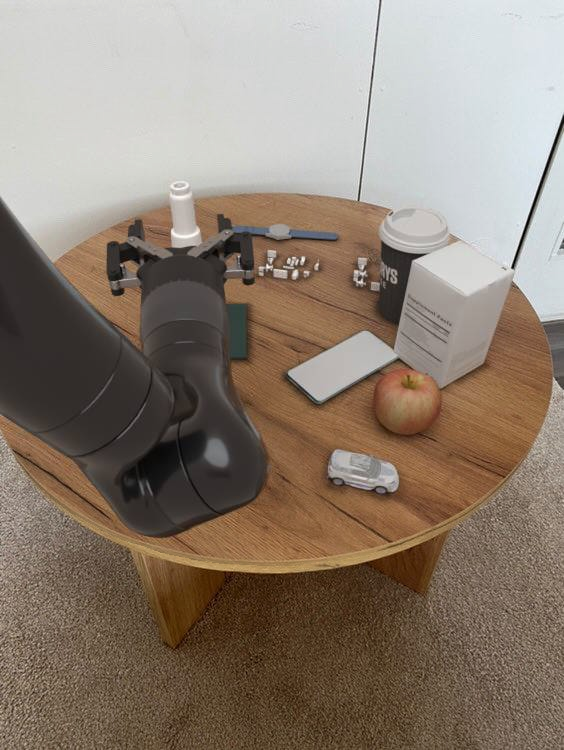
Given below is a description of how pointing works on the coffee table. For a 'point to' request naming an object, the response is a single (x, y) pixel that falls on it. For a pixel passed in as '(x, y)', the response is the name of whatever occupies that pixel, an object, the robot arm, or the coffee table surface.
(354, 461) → the toy car
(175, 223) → the cosmetic bottle
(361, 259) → the miniature furniture
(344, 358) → the smartphone
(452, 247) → the white product box
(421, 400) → the apple
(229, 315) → the mat
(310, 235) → the wristwatch
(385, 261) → the coffee cup
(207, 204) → the coffee table surface
